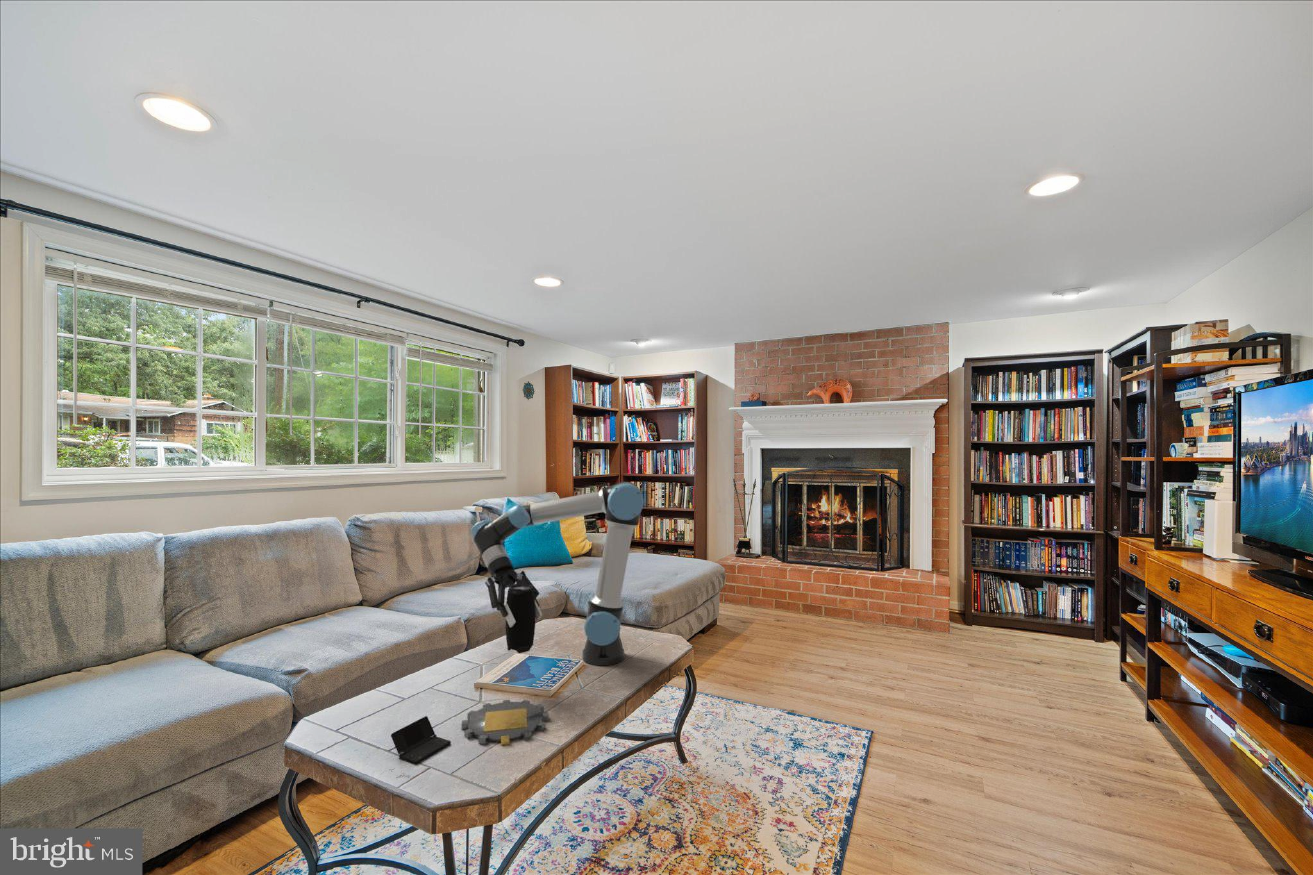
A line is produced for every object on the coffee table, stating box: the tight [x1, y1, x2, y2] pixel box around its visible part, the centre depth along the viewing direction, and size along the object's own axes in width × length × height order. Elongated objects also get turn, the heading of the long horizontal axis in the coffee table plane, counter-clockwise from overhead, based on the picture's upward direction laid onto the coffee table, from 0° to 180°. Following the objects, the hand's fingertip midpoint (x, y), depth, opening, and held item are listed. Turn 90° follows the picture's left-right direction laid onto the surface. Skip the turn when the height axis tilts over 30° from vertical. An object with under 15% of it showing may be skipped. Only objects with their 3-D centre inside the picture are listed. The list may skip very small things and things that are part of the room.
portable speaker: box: [505, 583, 536, 654], centre depth 178 cm, size 9×9×20 cm
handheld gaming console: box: [390, 715, 452, 765], centre depth 142 cm, size 12×7×10 cm
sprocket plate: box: [461, 699, 550, 746], centre depth 156 cm, size 23×23×2 cm
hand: (526, 620), depth 176 cm, fingers closed on portable speaker, 9 cm apart
